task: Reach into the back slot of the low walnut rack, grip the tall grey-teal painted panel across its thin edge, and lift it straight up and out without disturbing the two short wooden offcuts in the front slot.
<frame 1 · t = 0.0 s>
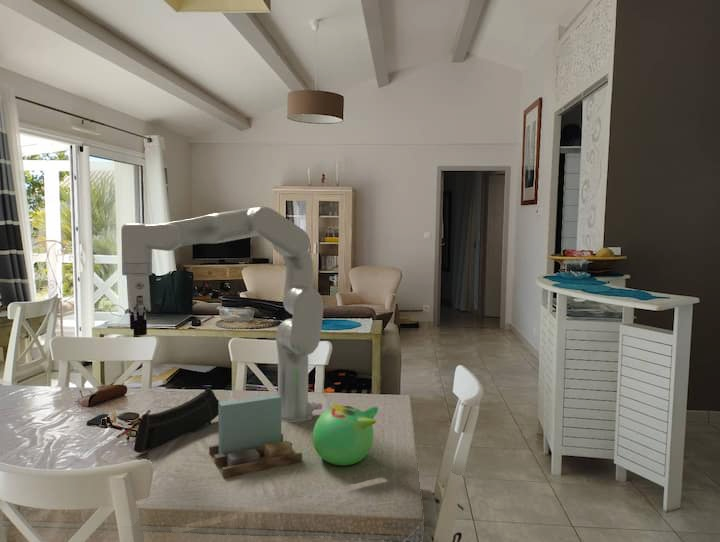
hand: (138, 331, 143), 31 cm above the table, tool pointing down, fingers open, 9 cm apart
offcut b: (243, 465, 131), point 1 cm above the table, touching rack
toy bird: (345, 461, 137), on the table
magazine: (181, 437, 151), on the table
phone: (115, 424, 161), on the table
offcut a: (278, 458, 135), point 1 cm above the table, touching rack
rack: (254, 461, 136), on the table
panel: (250, 451, 139), point 1 cm above the table, touching rack
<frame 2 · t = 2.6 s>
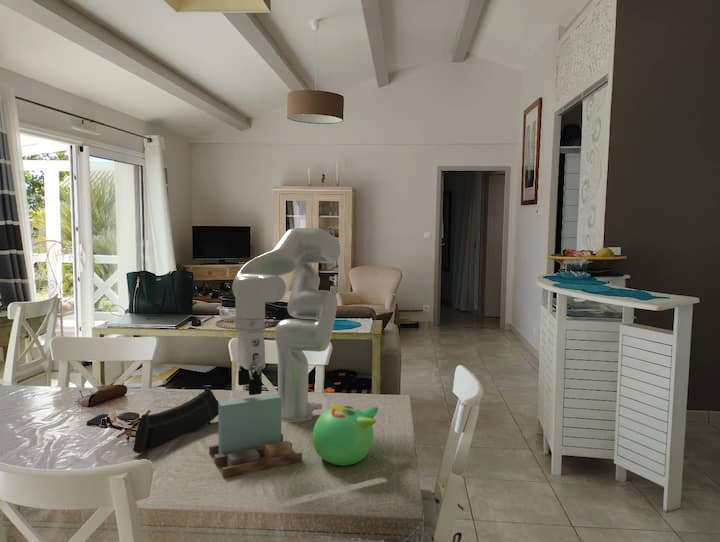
hand: (249, 389, 137), 18 cm above the table, tool pointing down, fingers open, 9 cm apart
nothing on the table moved.
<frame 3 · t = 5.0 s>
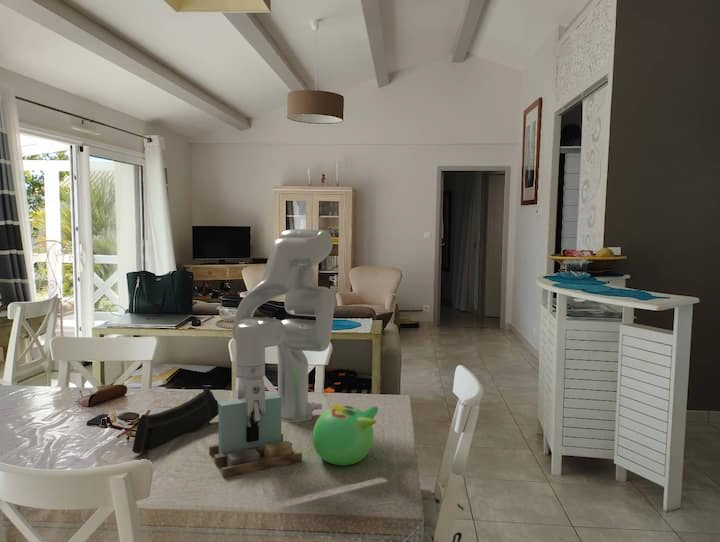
hand: (250, 437, 139), 5 cm above the table, tool pointing down, fingers closed on panel, 3 cm apart
panel: (250, 451, 139), point 1 cm above the table, touching gripper, rack
everything else where it was.
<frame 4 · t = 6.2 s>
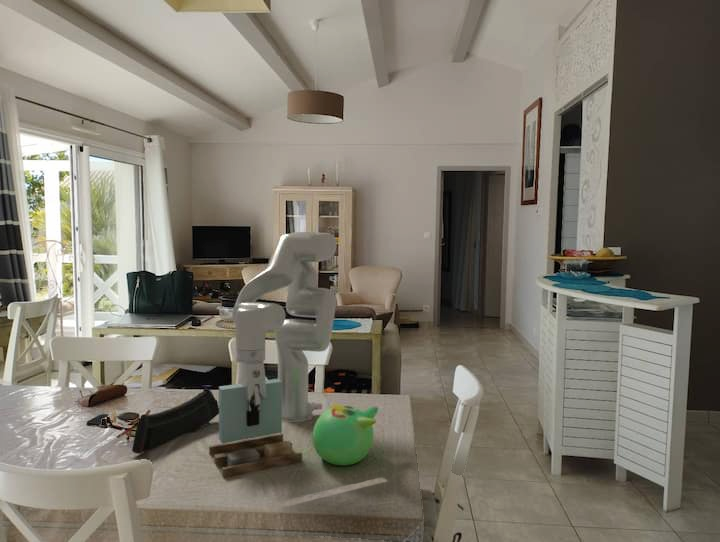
hand: (250, 422, 139), 9 cm above the table, tool pointing down, fingers closed on panel, 3 cm apart
panel: (250, 435, 139), point 5 cm above the table, touching gripper
everything else where it was.
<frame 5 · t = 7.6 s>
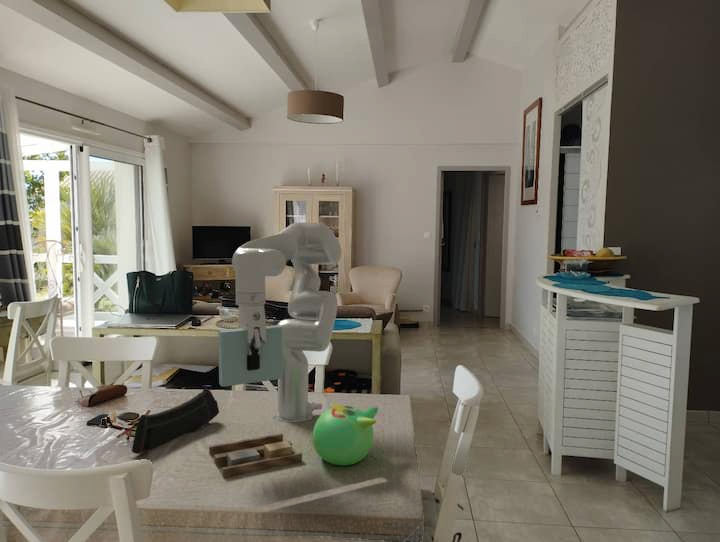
hand: (251, 367, 138), 24 cm above the table, tool pointing down, fingers closed on panel, 3 cm apart
panel: (251, 381, 138), point 20 cm above the table, touching gripper
everything else where it was.
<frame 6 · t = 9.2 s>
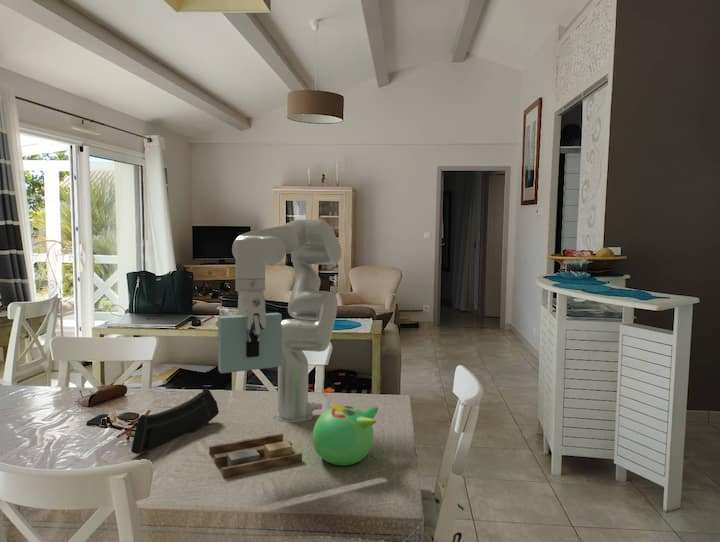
hand: (250, 354, 137), 27 cm above the table, tool pointing down, fingers closed on panel, 3 cm apart
panel: (250, 368, 138), point 23 cm above the table, touching gripper
everything else where it was.
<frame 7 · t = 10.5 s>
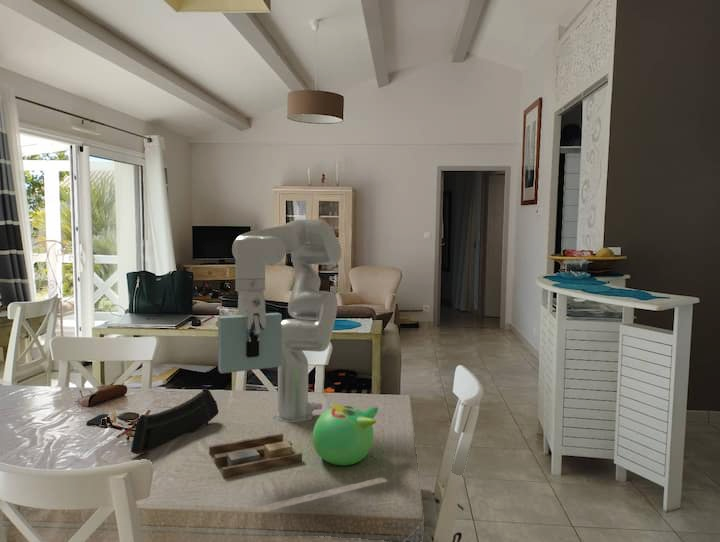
hand: (250, 354, 137), 27 cm above the table, tool pointing down, fingers closed on panel, 3 cm apart
panel: (250, 368, 138), point 23 cm above the table, touching gripper
everything else where it was.
at the end: panel point 23.4 cm above the table; offcut a moved 0.0 cm from its start; offcut b moved 0.0 cm from its start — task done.
